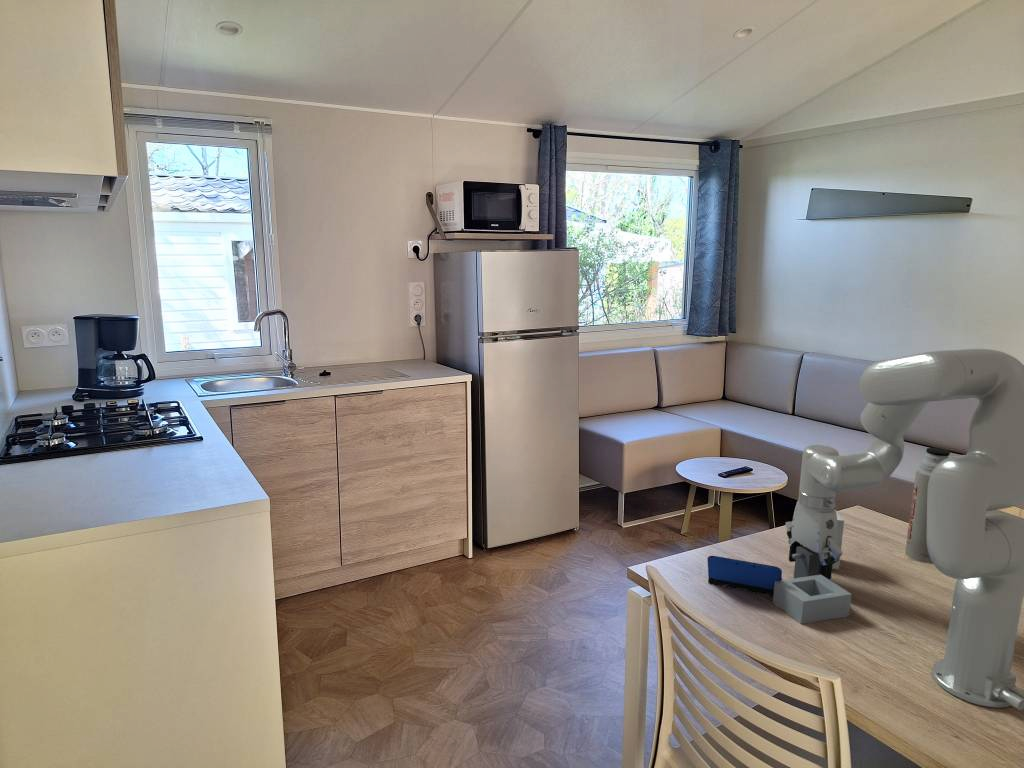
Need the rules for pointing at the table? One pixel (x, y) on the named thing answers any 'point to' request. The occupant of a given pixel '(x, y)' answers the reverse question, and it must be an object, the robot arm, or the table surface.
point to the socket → (811, 599)
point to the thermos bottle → (922, 506)
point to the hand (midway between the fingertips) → (809, 570)
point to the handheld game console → (743, 575)
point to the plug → (806, 562)
